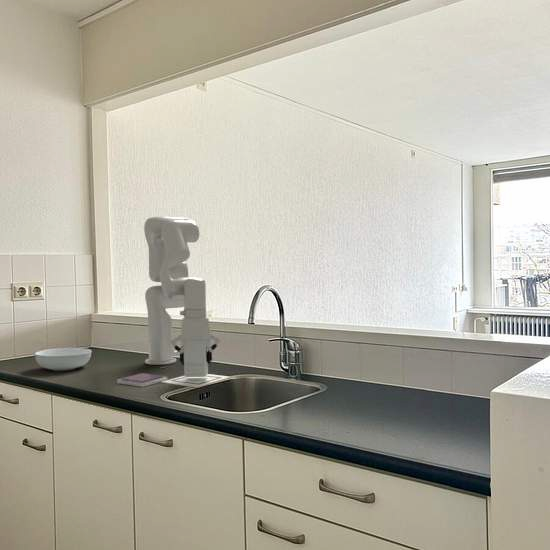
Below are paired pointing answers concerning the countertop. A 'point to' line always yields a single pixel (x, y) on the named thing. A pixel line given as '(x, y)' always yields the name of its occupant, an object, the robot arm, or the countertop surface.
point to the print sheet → (196, 380)
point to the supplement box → (195, 359)
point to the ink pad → (142, 379)
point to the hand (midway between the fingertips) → (196, 363)
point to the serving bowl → (63, 358)
